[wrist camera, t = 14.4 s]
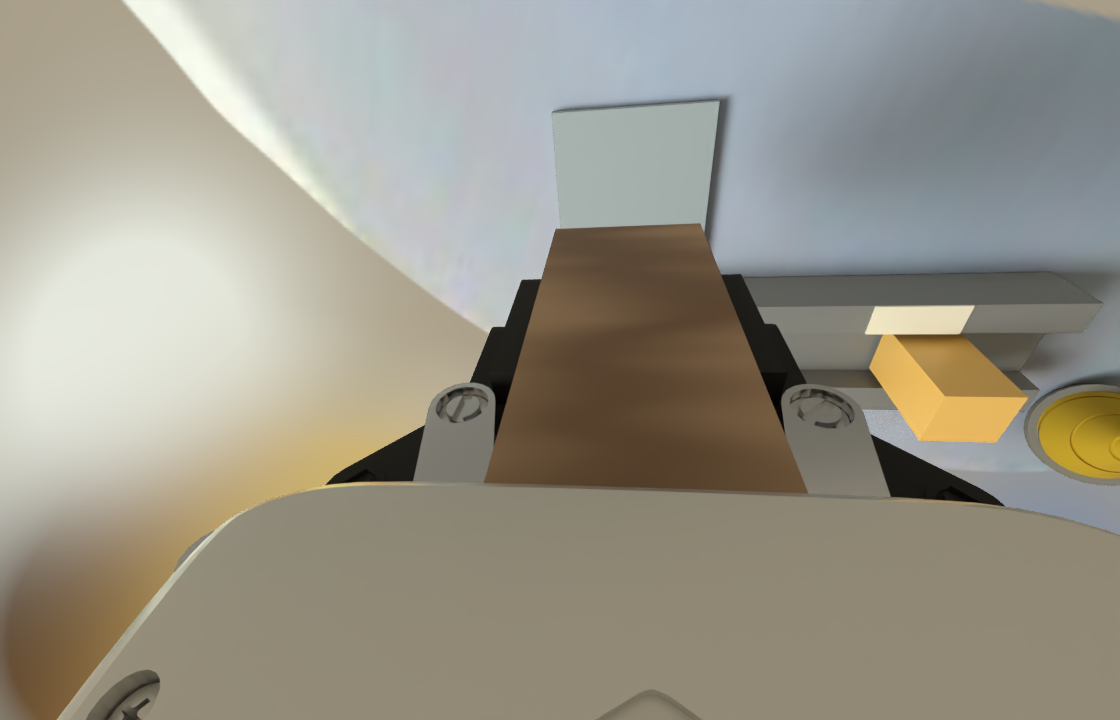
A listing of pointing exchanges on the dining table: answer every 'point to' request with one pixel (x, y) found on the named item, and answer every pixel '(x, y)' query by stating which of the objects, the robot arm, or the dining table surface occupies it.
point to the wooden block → (639, 373)
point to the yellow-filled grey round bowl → (1078, 432)
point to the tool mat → (634, 164)
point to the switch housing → (916, 320)
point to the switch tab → (946, 387)
